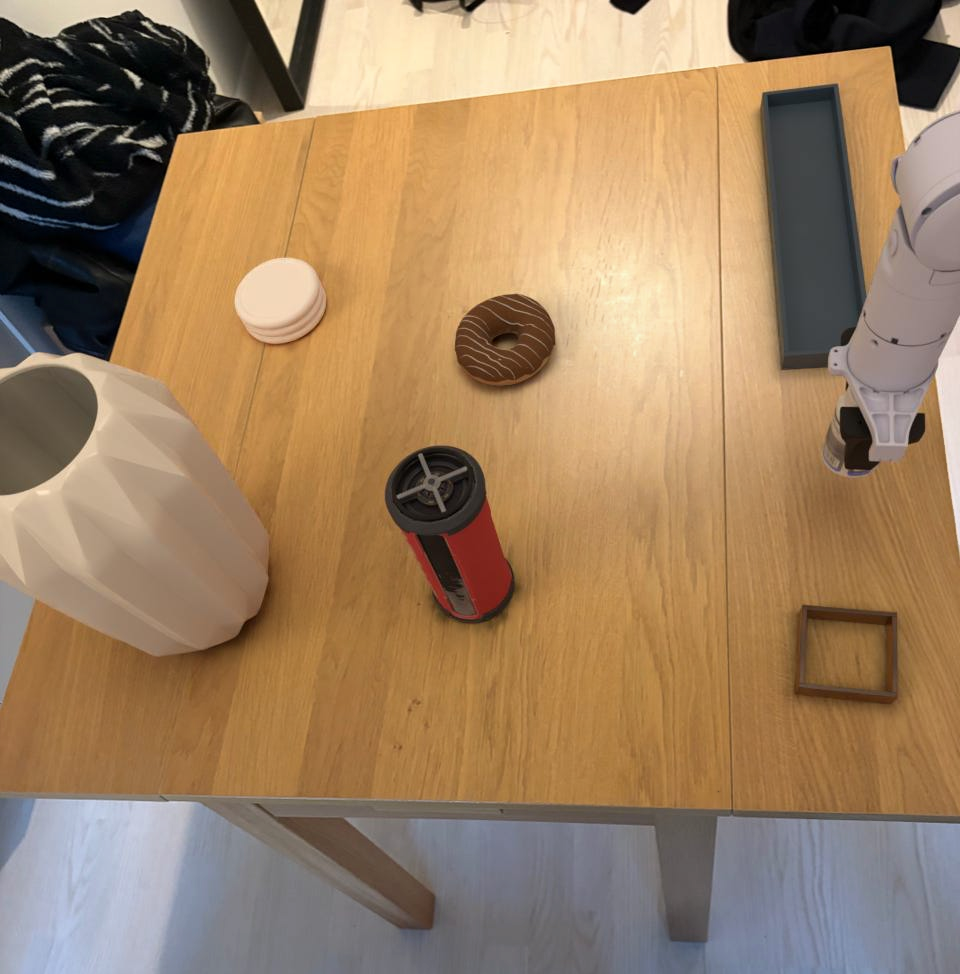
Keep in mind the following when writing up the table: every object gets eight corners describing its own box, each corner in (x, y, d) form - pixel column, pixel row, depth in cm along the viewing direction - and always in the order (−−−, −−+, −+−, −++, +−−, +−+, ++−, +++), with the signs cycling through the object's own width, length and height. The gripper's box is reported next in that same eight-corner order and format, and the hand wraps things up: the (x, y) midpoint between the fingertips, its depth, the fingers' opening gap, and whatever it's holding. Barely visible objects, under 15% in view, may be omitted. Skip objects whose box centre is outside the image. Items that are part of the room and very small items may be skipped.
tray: (759, 109, 94) (762, 92, 92) (834, 100, 92) (838, 82, 90) (781, 369, 80) (784, 355, 78) (868, 364, 79) (874, 350, 77)
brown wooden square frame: (798, 613, 71) (802, 604, 69) (891, 621, 69) (897, 612, 67) (795, 694, 68) (798, 687, 66) (891, 704, 66) (897, 697, 65)
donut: (531, 298, 89) (527, 270, 85) (574, 365, 85) (571, 338, 81) (443, 340, 89) (434, 313, 85) (480, 409, 85) (473, 383, 81)
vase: (154, 504, 87) (-39, 315, 62) (323, 515, 83) (189, 317, 58) (93, 675, 81) (-150, 540, 56) (274, 697, 76) (98, 561, 51)
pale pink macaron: (304, 353, 92) (292, 330, 89) (231, 337, 95) (217, 315, 92) (342, 286, 95) (331, 261, 92) (269, 272, 98) (257, 248, 94)
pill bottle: (888, 439, 68) (920, 370, 60) (873, 486, 66) (903, 422, 59) (829, 425, 69) (853, 356, 61) (813, 470, 68) (835, 406, 60)
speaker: (527, 605, 75) (497, 501, 59) (450, 637, 76) (399, 542, 59) (498, 538, 79) (462, 423, 62) (424, 569, 79) (368, 462, 62)
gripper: (845, 229, 57) (807, 363, 69) (843, 402, 52) (803, 513, 64) (957, 226, 55) (898, 364, 67) (966, 404, 50) (901, 518, 62)
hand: (858, 437), depth 66 cm, fingers closed on pill bottle, 5 cm apart
